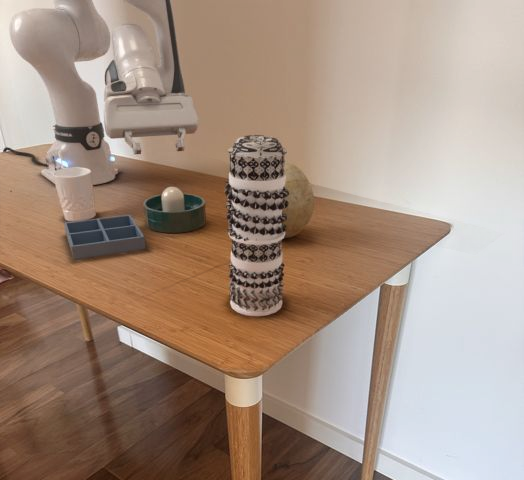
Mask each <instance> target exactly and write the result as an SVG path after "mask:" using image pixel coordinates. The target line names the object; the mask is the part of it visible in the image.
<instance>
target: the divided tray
mask: <svg viewBox="0 0 524 480" xmlns="http://www.w3.org/2000/svg"><path fill="white" fill-rule="evenodd" d="M63 226H64V230H65V236H66V239H67V242H68V245H69V249H70V253H71V255H72V258H73V261H75V260H81V259H88V258H95V257H102V256H108V255H115V254H116V255H117V254H123V253H129V252H135V251H136V252H137V251H141V250H142V251H143V250H146V249H147V246H146V239H145V235H144V234H143V232H142V230H141V229H140V227H139V225H138V224H137V222H136V221H135V220H134V218H133V216H132V215H131V214H125V215H123V214H122V215H115V216H108V217H107V216H106V217H101V218H100V217H99V218H90V219H87V220H81V221H67V222H63Z"/></svg>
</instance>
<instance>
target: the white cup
mask: <svg viewBox="0 0 524 480" xmlns="http://www.w3.org/2000/svg"><path fill="white" fill-rule="evenodd" d="M52 174H53V178H54V182H55V184H54V185H55V189H56V194H57V196H58V200H59V203H60V207H61V208H62V213H63V217H64V219H65V220H66V221H67V222H75V221H83V220H91V219H94V217H96V216H97V213H96V201H95V192H94V185H93V183H92V175H91V170H90V169H87V168H80V167H73V168H64V169H59V170H56V171H54V172H53V173H52Z"/></svg>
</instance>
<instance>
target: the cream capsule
mask: <svg viewBox="0 0 524 480" xmlns="http://www.w3.org/2000/svg"><path fill="white" fill-rule="evenodd" d="M161 194H162V196H161V201H162V210H163V211H166V212H177V211H185V203H184V195H183V191H182V190H181V189H180V188H178V187H175V186H168V187H166V188H165V189H164V190H163V191H162V193H161Z"/></svg>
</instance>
